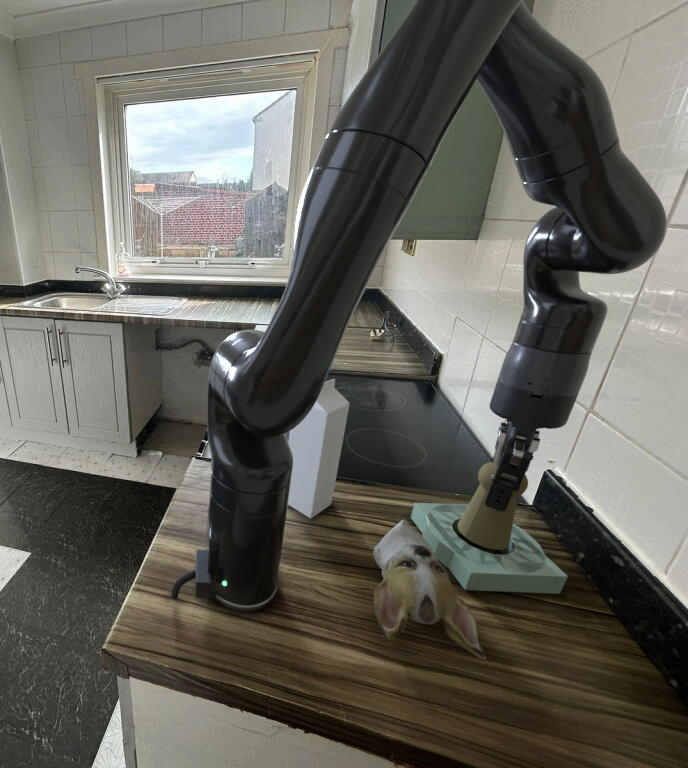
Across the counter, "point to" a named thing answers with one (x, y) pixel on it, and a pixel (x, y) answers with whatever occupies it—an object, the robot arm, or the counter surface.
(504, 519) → the cork
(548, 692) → the counter surface
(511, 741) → the counter surface
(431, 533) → the plate
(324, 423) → the milk
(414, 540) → the dog head figure
